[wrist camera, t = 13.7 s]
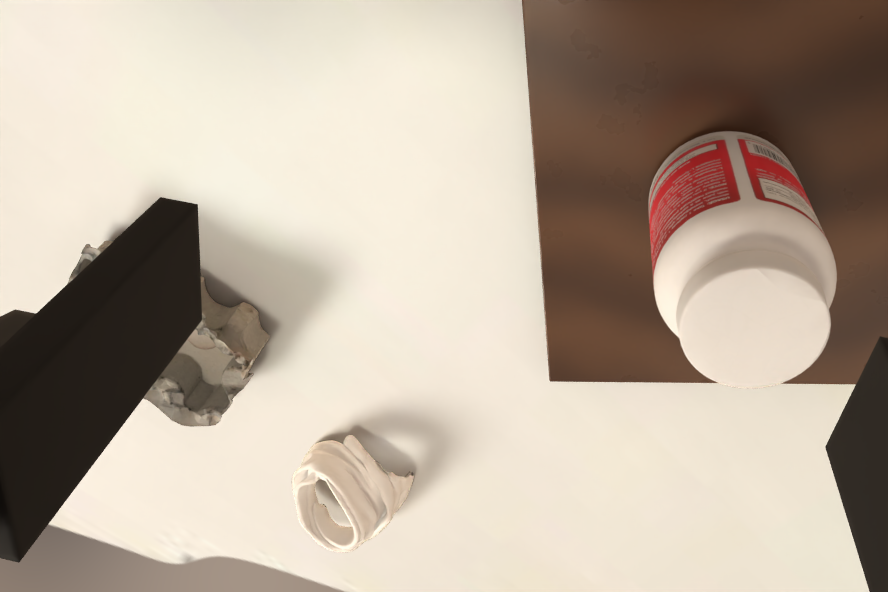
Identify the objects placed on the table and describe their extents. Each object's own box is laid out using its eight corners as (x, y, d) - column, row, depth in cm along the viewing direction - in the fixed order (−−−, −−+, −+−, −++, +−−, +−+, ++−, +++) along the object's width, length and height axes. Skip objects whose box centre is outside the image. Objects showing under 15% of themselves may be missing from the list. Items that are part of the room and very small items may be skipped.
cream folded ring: (380, 528, 54) (365, 594, 50) (282, 490, 53) (258, 555, 49) (429, 454, 50) (416, 520, 46) (322, 410, 49) (300, 475, 45)
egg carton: (287, 324, 46) (260, 366, 43) (229, 406, 50) (200, 451, 47) (116, 212, 45) (74, 247, 41) (69, 306, 49) (27, 345, 45)
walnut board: (523, -38, 35) (519, -32, 34) (954, -81, 31) (968, -76, 30) (551, 365, 45) (549, 381, 43) (884, 366, 41) (892, 385, 40)
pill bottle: (642, 255, 39) (647, 400, 29) (653, 125, 36) (662, 241, 26) (786, 261, 38) (838, 415, 28) (809, 128, 35) (876, 250, 25)
